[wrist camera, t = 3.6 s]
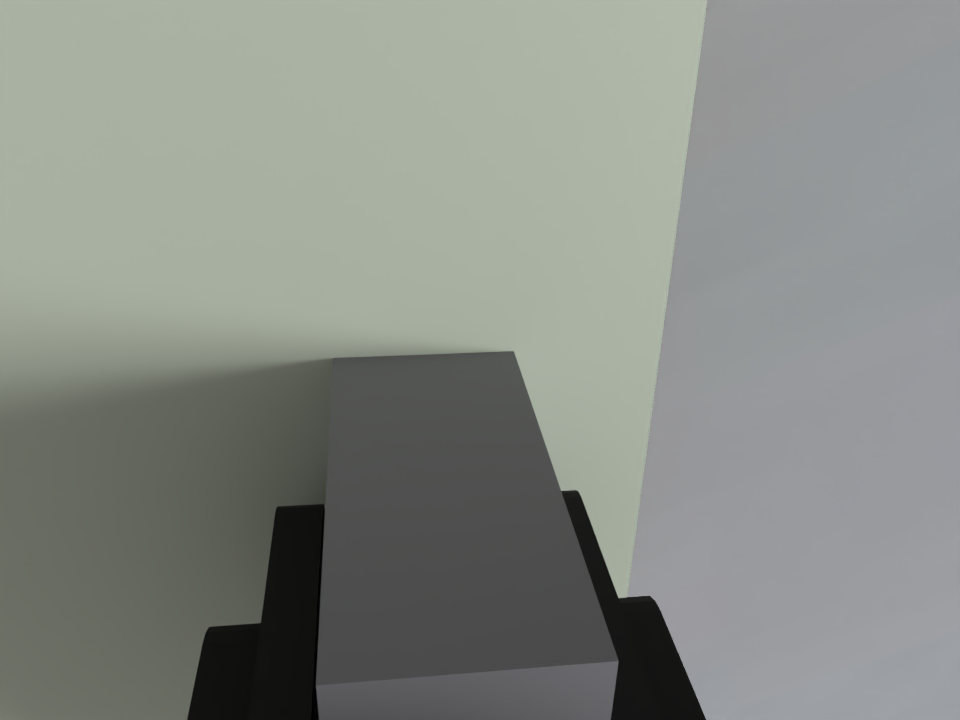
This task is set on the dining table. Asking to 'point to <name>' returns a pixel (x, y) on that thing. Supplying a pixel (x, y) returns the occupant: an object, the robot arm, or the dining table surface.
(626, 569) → the lid
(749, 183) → the dining table surface
